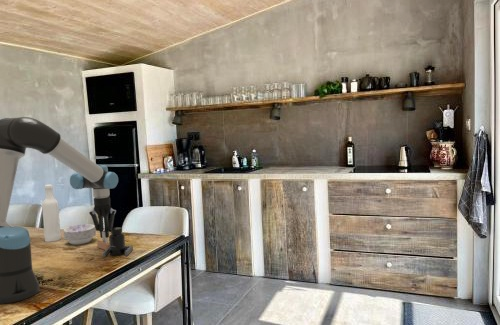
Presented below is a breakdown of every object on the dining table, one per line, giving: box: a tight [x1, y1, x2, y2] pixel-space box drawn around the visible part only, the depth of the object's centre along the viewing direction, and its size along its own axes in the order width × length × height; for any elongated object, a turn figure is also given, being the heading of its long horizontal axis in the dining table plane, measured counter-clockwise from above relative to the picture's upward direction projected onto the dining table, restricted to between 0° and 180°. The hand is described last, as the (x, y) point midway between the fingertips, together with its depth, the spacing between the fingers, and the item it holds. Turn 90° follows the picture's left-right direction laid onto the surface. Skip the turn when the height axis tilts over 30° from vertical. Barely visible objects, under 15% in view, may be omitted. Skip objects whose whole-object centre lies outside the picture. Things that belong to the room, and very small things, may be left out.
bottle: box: [41, 184, 62, 243], centre depth 208 cm, size 8×8×30 cm
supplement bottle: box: [108, 226, 126, 257], centre depth 179 cm, size 7×7×12 cm
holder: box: [96, 240, 134, 258], centre depth 184 cm, size 19×18×3 cm
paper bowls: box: [63, 223, 97, 246], centre depth 202 cm, size 15×15×8 cm
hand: (105, 243), depth 192 cm, fingers closed
